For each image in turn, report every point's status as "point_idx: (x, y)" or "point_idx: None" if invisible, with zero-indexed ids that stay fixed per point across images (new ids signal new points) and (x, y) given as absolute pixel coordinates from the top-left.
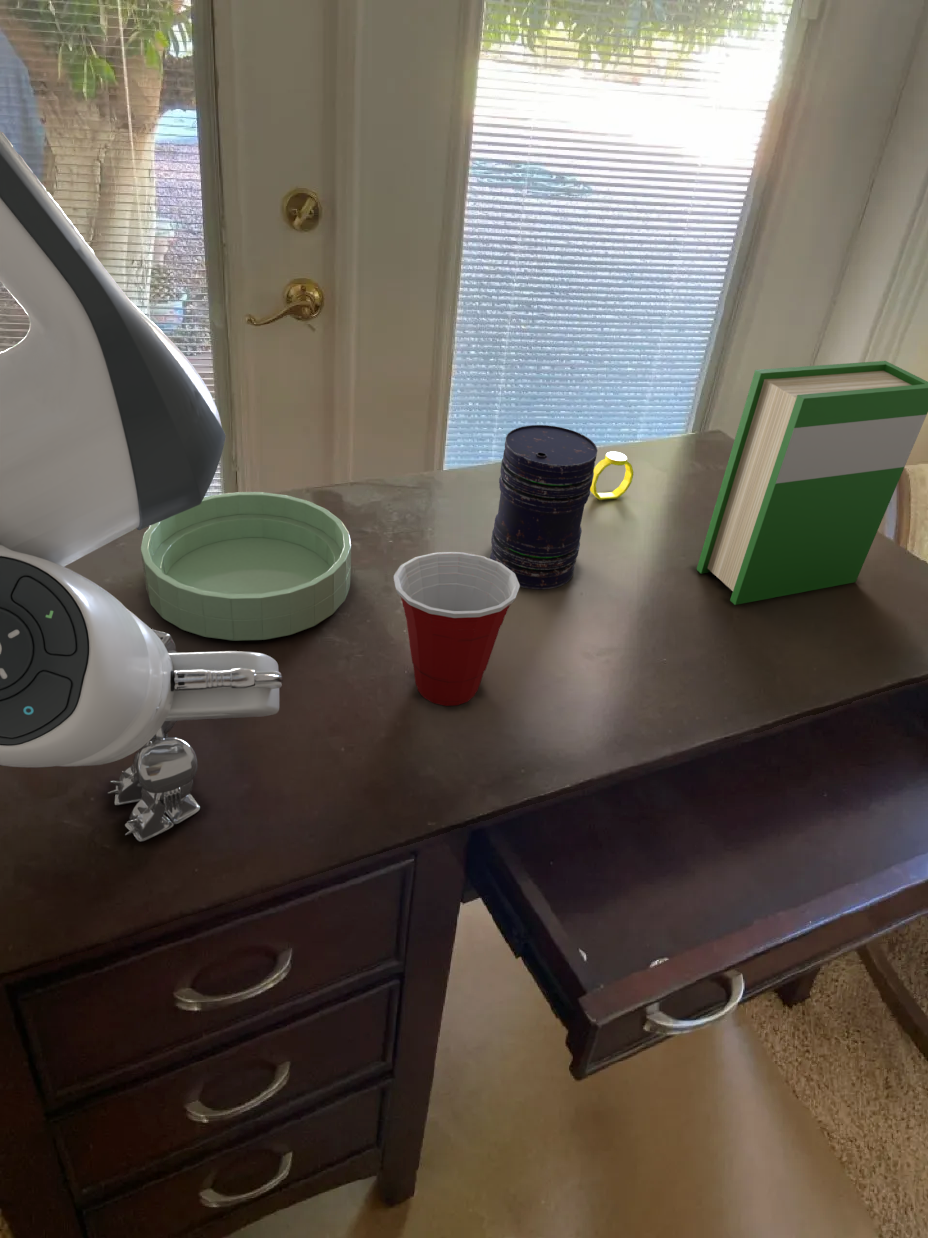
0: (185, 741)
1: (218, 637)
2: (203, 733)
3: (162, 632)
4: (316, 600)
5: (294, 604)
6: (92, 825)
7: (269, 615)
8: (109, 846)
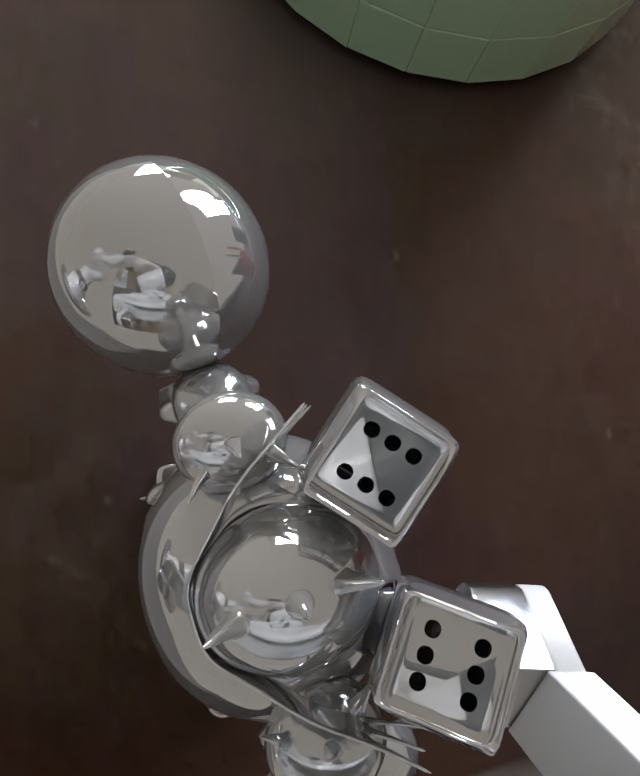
0: (399, 737)
1: (374, 56)
2: (337, 339)
3: (424, 428)
4: (617, 5)
5: (576, 13)
6: (108, 580)
7: (511, 33)
8: (145, 646)
